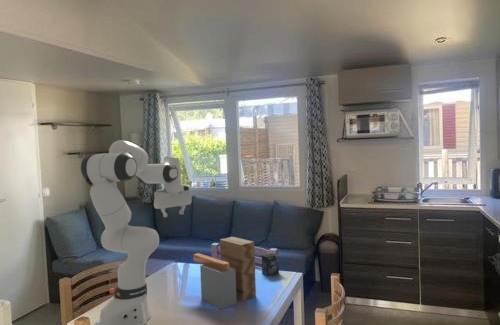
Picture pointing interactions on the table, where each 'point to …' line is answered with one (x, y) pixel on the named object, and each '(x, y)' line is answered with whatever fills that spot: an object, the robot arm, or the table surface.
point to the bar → (211, 261)
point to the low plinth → (218, 286)
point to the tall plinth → (240, 264)
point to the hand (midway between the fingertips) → (173, 215)
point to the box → (270, 264)
